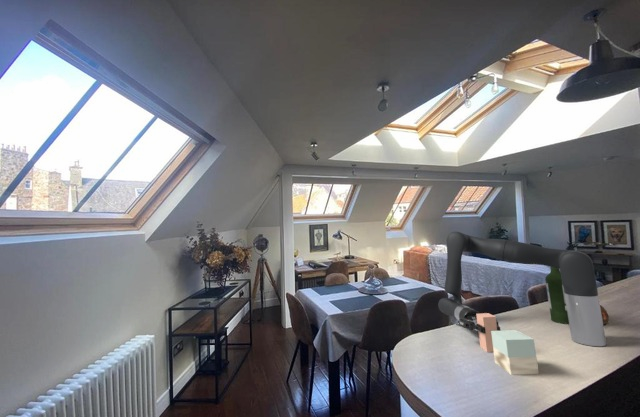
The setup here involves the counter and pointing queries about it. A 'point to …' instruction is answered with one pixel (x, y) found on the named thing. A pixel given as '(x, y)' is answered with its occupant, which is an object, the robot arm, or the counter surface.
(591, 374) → the counter surface
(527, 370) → the tower base block
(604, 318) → the tin
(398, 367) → the counter surface
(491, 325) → the peach block
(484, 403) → the counter surface
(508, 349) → the tower top block
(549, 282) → the wine bottle
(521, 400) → the counter surface
